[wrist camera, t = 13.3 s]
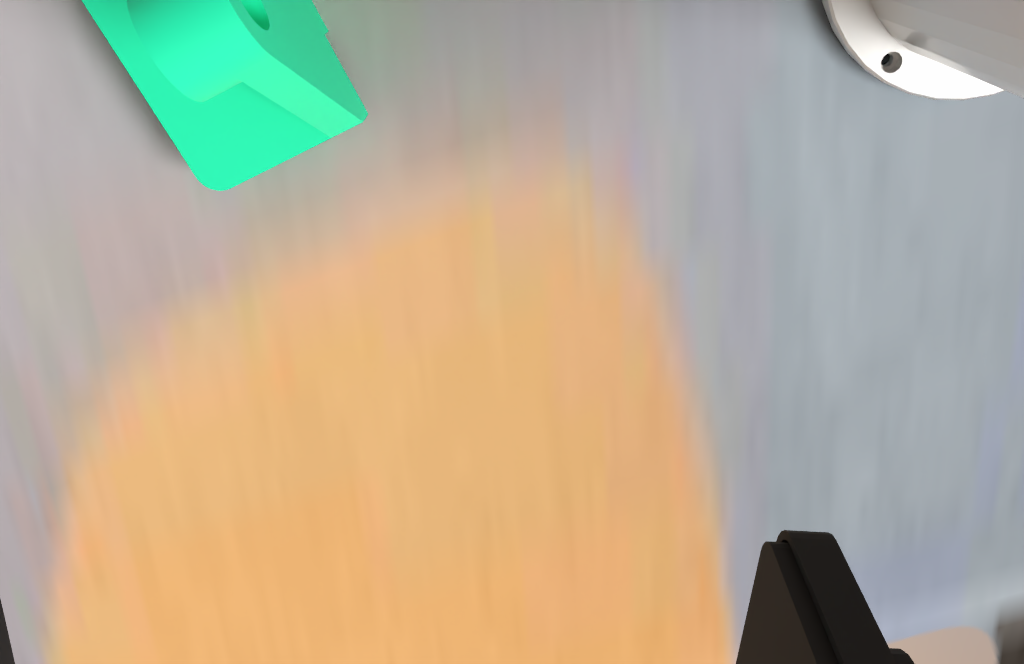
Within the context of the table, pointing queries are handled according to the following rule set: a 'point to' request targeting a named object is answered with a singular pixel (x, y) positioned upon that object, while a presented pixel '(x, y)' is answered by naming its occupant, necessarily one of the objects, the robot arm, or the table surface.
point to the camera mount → (233, 79)
